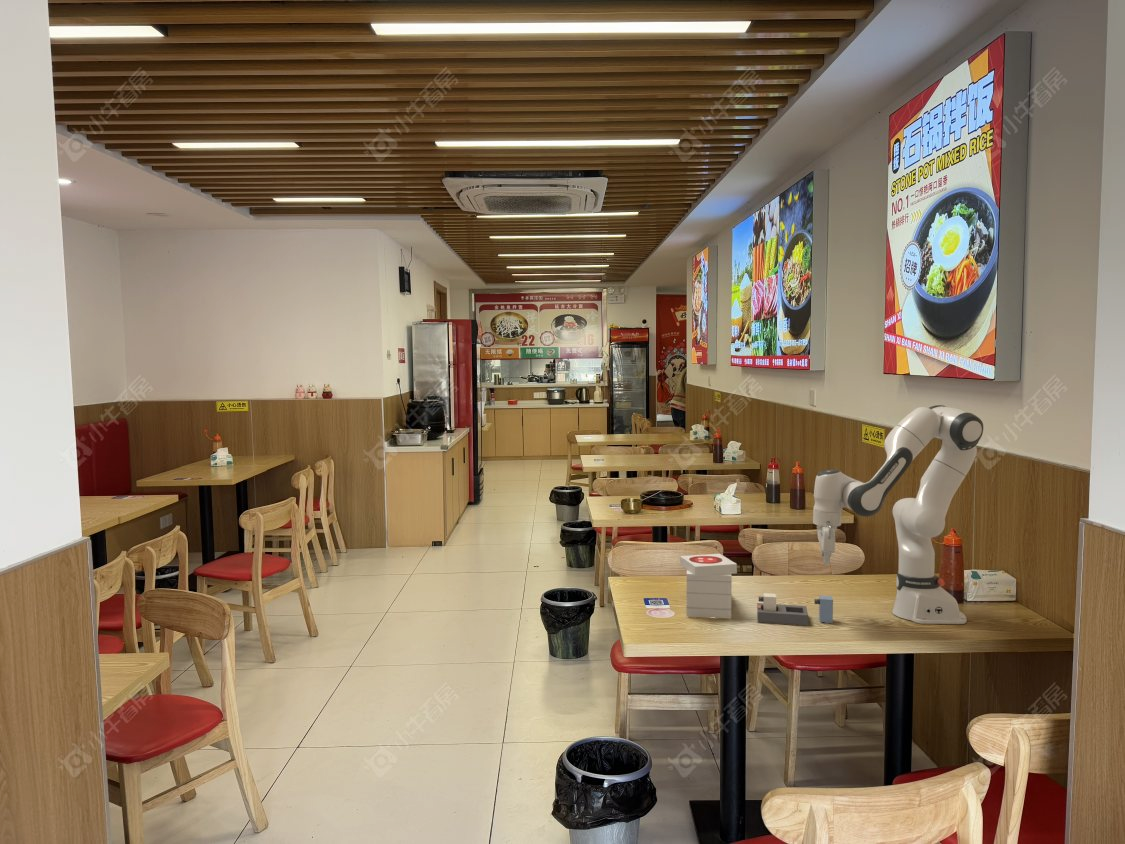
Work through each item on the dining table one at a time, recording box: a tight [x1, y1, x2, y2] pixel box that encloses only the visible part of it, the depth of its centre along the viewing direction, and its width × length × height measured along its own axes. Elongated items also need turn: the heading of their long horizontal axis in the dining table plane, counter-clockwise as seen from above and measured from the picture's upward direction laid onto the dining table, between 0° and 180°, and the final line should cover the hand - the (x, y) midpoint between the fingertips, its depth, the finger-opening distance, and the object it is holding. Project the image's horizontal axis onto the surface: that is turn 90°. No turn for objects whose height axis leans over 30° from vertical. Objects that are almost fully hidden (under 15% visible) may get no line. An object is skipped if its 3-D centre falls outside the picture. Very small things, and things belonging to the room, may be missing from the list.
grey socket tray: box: [756, 602, 809, 626], centre depth 257 cm, size 16×10×4 cm, turn 76°
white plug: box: [758, 592, 777, 611], centre depth 258 cm, size 6×4×8 cm
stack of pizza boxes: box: [679, 553, 738, 619], centre depth 271 cm, size 19×30×18 cm, turn 170°
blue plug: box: [813, 595, 834, 624], centre depth 255 cm, size 6×4×8 cm
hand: (825, 560), depth 254 cm, fingers open, 8 cm apart
